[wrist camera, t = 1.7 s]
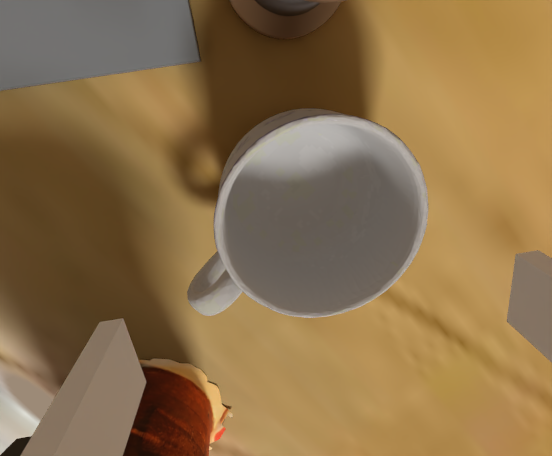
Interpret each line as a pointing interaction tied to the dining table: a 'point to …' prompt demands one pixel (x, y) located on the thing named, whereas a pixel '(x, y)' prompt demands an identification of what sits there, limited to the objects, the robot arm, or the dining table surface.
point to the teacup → (313, 216)
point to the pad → (91, 39)
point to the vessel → (176, 412)
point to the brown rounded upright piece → (285, 15)
